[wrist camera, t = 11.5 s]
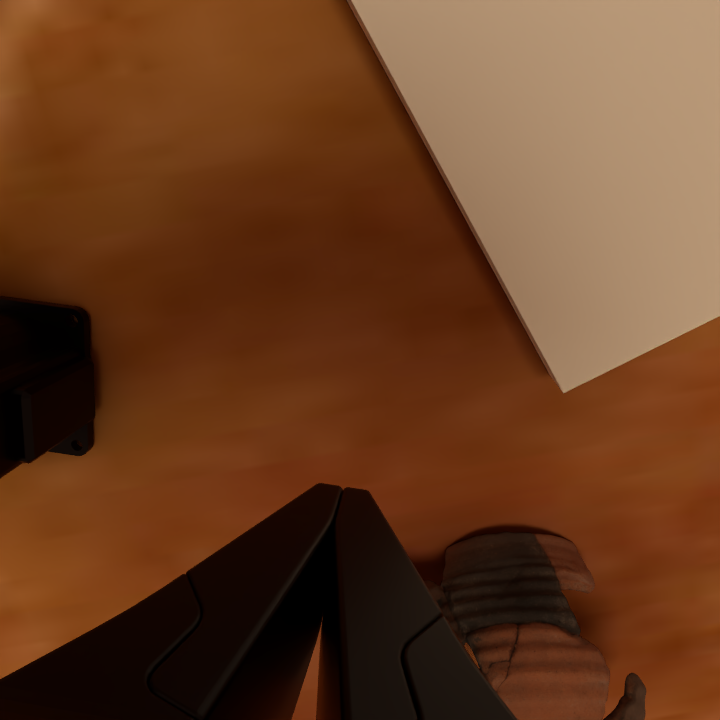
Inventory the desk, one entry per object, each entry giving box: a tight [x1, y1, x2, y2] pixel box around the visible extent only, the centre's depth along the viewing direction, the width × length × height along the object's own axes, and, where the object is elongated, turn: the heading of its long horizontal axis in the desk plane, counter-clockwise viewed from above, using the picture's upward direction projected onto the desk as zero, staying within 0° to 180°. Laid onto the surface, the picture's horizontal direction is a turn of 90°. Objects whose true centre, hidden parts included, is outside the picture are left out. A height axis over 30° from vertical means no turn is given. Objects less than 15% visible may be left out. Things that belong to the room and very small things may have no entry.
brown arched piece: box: [424, 532, 646, 720], centre depth 23 cm, size 12×10×8 cm
